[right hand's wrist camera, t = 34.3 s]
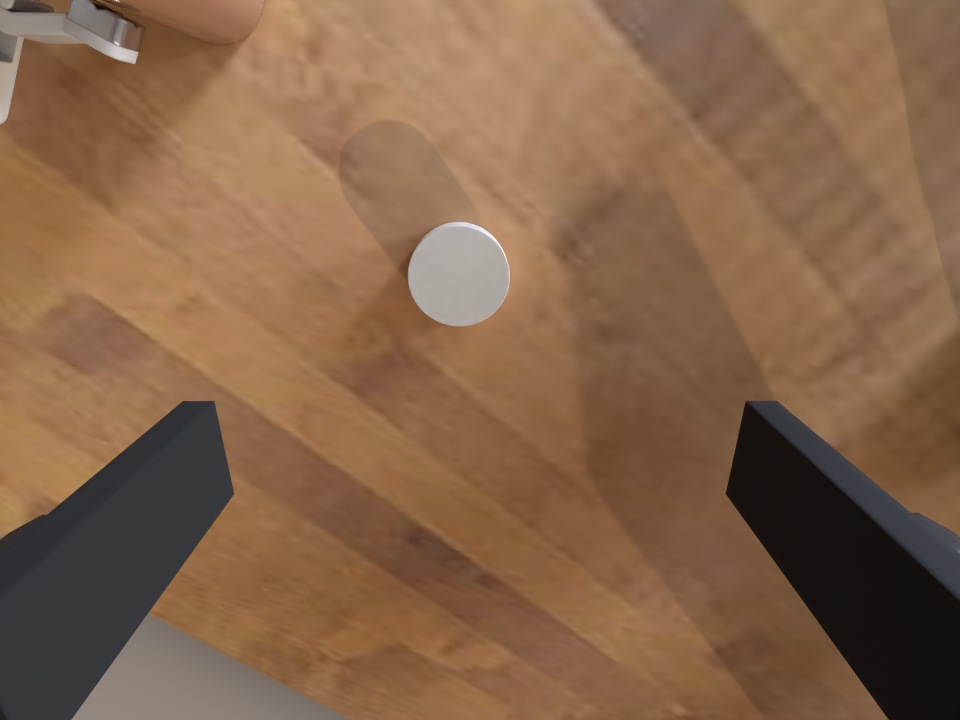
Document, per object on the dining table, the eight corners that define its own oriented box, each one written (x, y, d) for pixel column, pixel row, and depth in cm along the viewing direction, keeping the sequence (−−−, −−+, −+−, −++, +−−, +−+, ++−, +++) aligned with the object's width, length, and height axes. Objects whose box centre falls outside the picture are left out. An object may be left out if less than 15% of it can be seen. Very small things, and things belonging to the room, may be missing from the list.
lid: (527, 274, 30) (530, 281, 29) (456, 336, 32) (456, 345, 30) (461, 200, 28) (461, 203, 27) (390, 268, 30) (385, 274, 28)
